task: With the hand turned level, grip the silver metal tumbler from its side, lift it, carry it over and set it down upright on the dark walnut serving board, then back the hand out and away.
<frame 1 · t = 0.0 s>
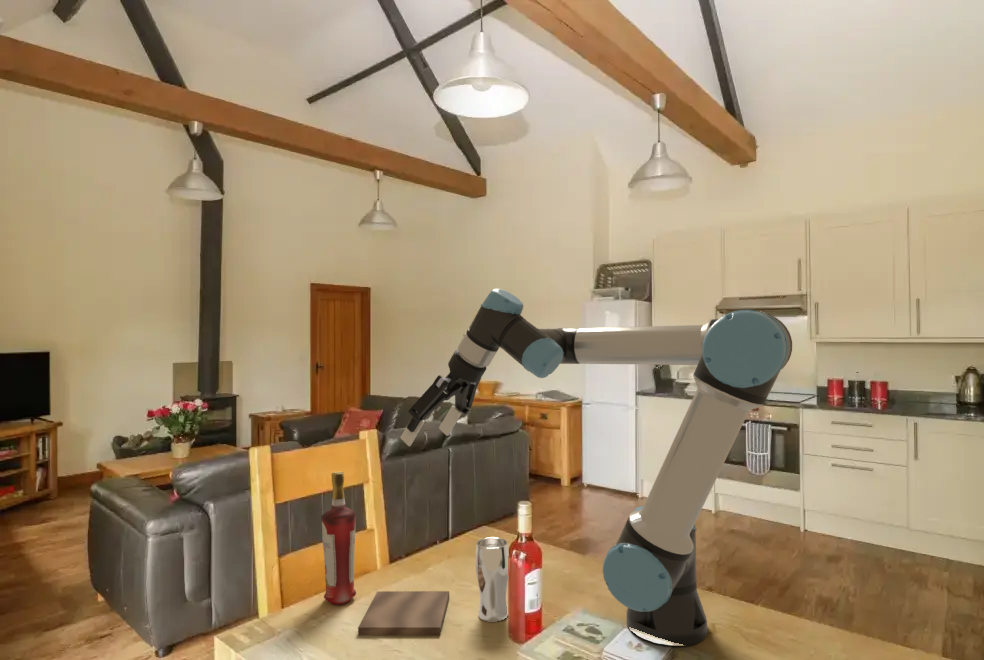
hand: (425, 436, 129), 36 cm above the table, tool tilted 35°, fingers open, 13 cm apart
walnut board: (406, 615, 122), on the table
silver metal tumbler: (493, 616, 122), on the table
liquor: (340, 601, 130), on the table
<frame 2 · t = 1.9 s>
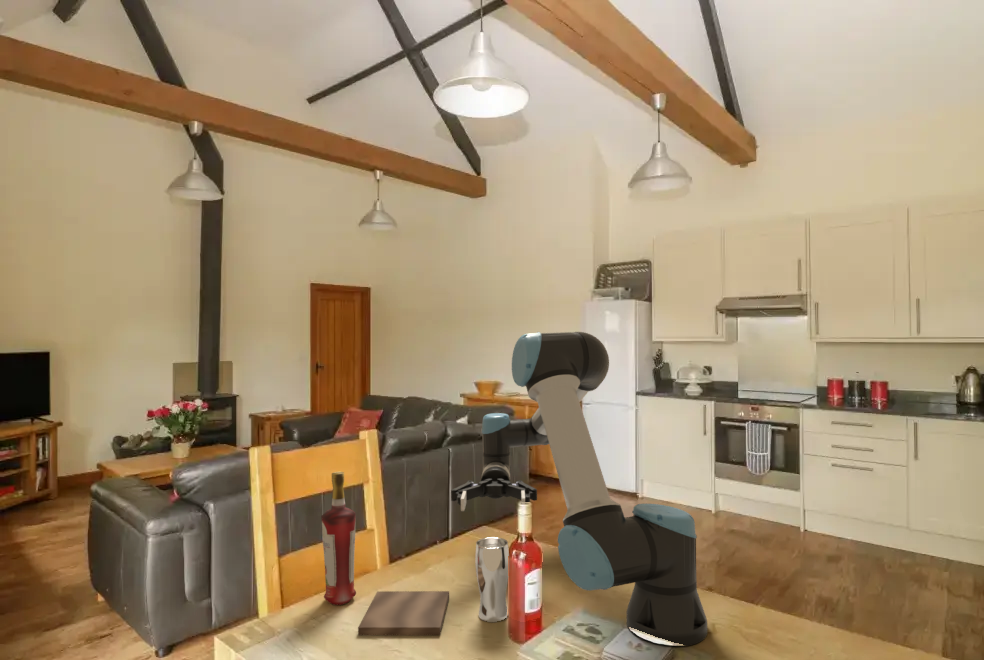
hand: (492, 504, 131), 20 cm above the table, tool horizontal, fingers open, 13 cm apart
nothing on the table moved.
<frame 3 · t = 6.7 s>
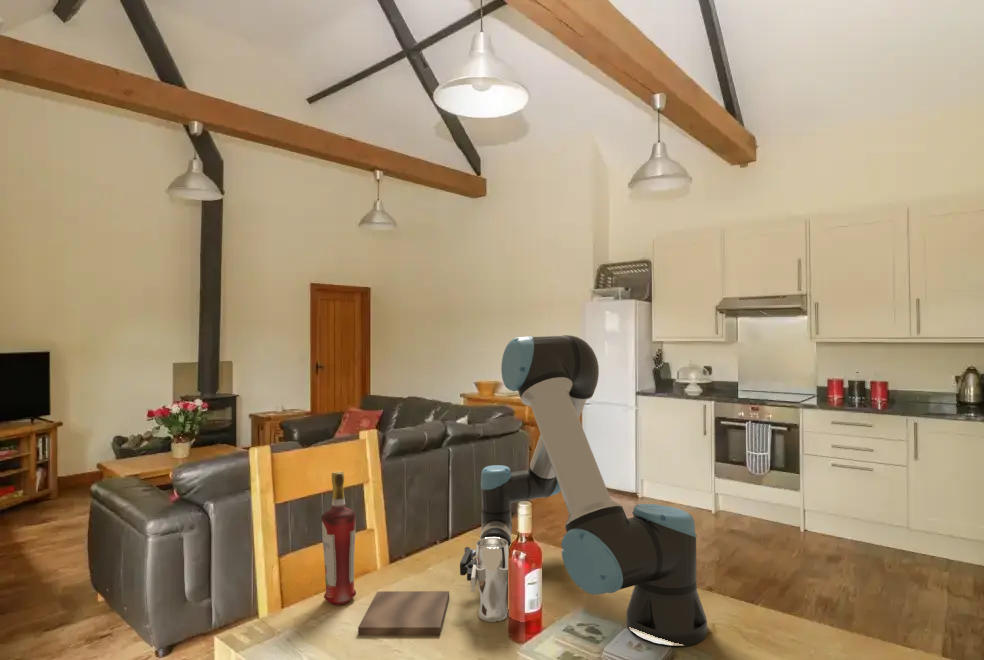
hand: (491, 584, 117), 9 cm above the table, tool horizontal, fingers closed on silver metal tumbler, 7 cm apart
silver metal tumbler: (493, 616, 122), on the table, touching gripper
everything else where it was.
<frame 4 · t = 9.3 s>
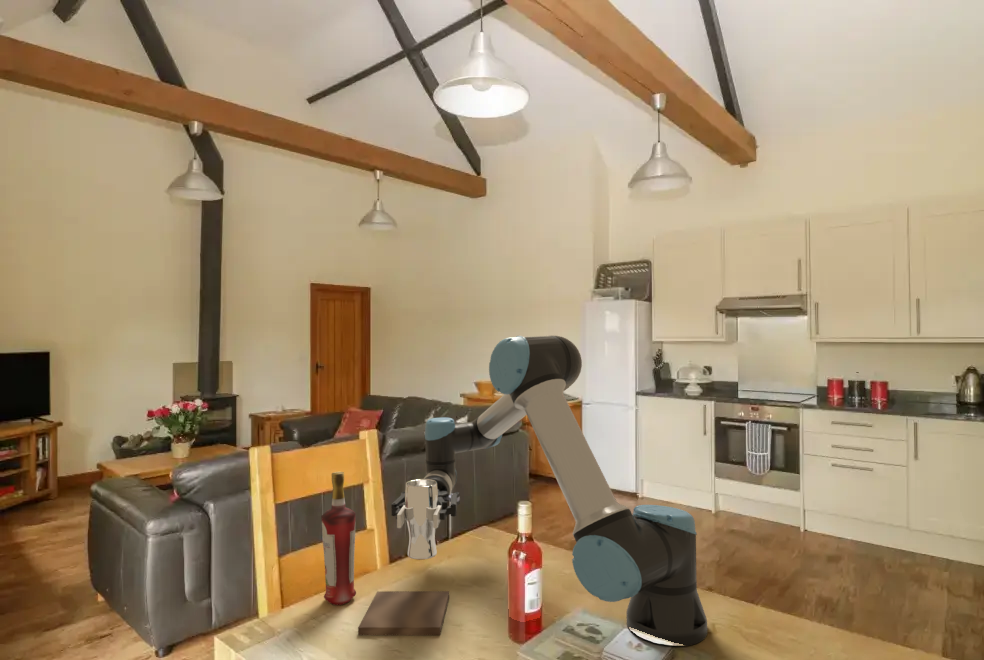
hand: (417, 521, 119), 21 cm above the table, tool horizontal, fingers closed on silver metal tumbler, 7 cm apart
silver metal tumbler: (422, 555, 124), point 12 cm above the table, touching gripper
everything else where it was.
when the fingers open (11 cm above the table, at t = 12.0 s): silver metal tumbler drops 1 cm, resting on walnut board.
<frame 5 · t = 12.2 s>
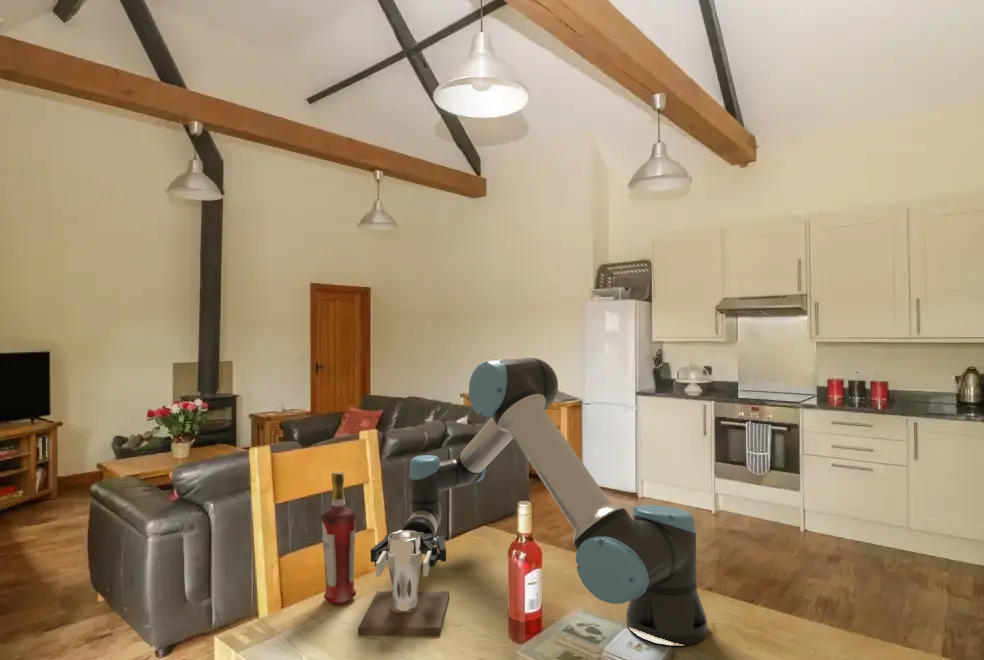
hand: (401, 569, 118), 11 cm above the table, tool horizontal, fingers open, 9 cm apart
silver metal tumbler: (405, 608, 123), point 1 cm above the table, touching walnut board
everything else where it was.
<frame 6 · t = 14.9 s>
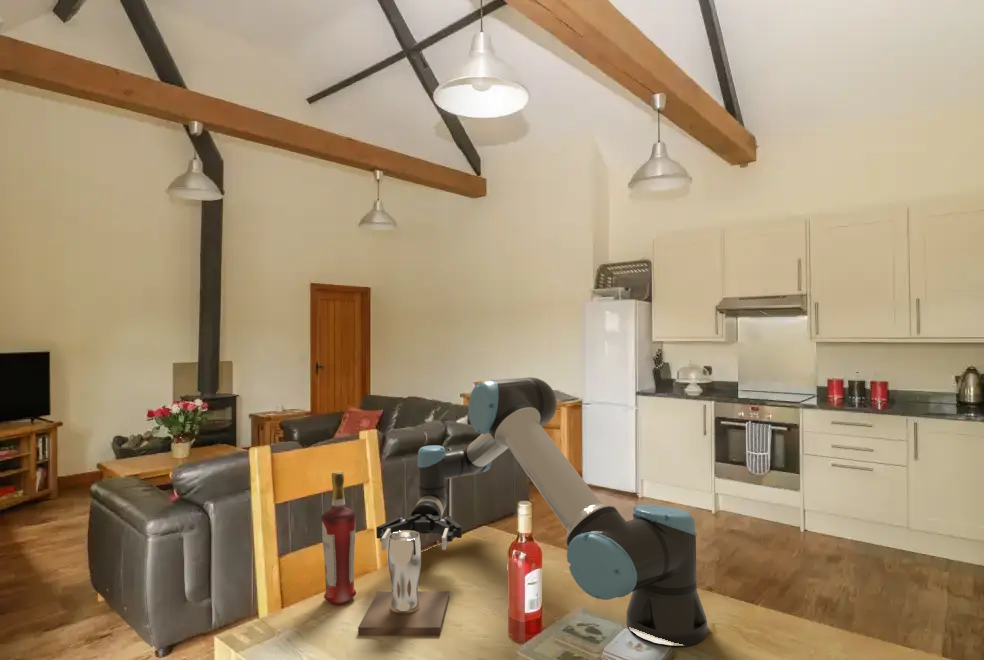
hand: (413, 544, 132), 11 cm above the table, tool horizontal, fingers open, 13 cm apart
nothing on the table moved.
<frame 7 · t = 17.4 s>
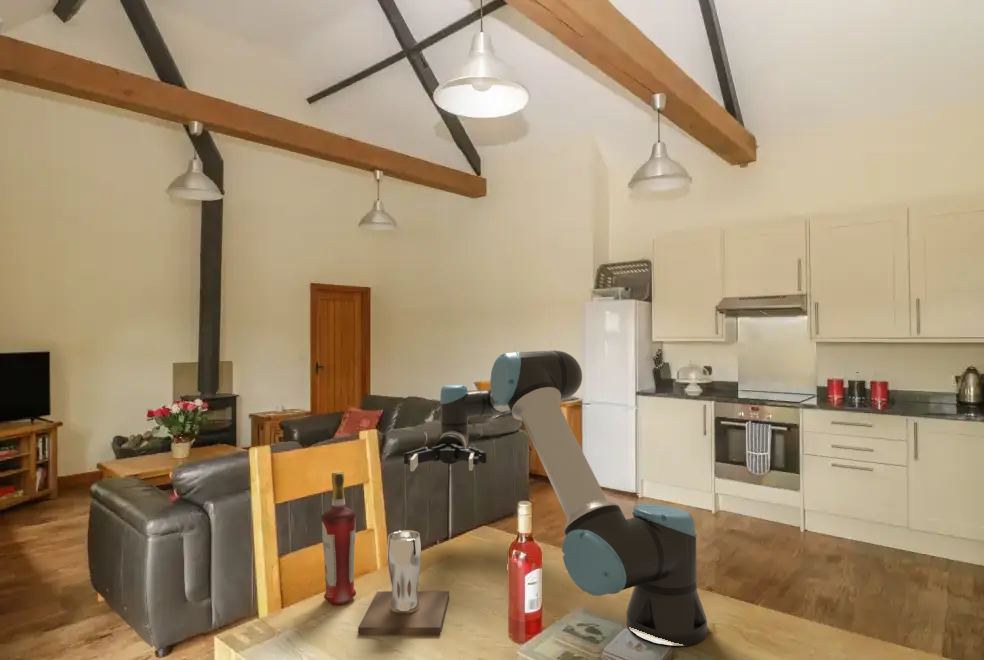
hand: (441, 465, 136), 28 cm above the table, tool horizontal, fingers open, 13 cm apart
nothing on the table moved.
at the end: silver metal tumbler inside the target area on the walnut board (0.4 cm from its centre), point 1.3 cm above the walnut board's base; silver metal tumbler tilted 0°; the gripper is holding nothing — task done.
